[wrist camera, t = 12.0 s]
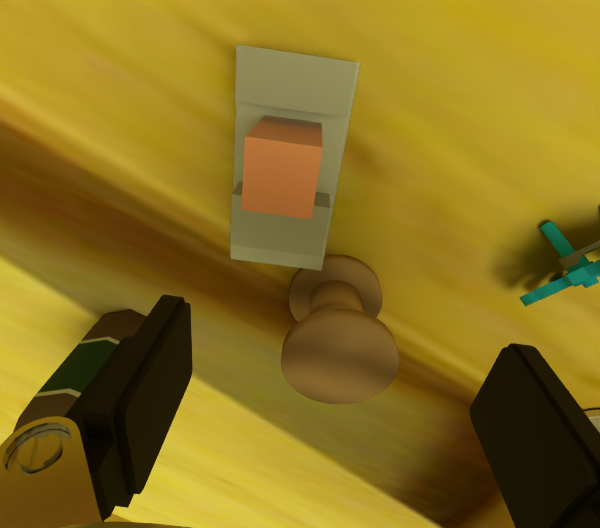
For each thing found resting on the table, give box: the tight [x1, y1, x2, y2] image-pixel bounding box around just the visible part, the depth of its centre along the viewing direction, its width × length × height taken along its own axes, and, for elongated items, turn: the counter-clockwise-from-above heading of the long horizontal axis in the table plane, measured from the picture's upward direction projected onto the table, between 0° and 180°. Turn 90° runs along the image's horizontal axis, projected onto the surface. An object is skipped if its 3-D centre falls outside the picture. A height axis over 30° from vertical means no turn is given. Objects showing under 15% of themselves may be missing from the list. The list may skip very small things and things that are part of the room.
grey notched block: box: [230, 44, 360, 271], centre depth 27 cm, size 16×8×6 cm, turn 173°
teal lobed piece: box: [520, 221, 600, 306], centre depth 29 cm, size 11×6×10 cm
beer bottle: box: [13, 310, 147, 433], centre depth 29 cm, size 8×8×24 cm
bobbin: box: [281, 255, 399, 404], centre depth 31 cm, size 9×9×9 cm
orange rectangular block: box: [241, 115, 323, 219], centre depth 23 cm, size 4×4×8 cm
